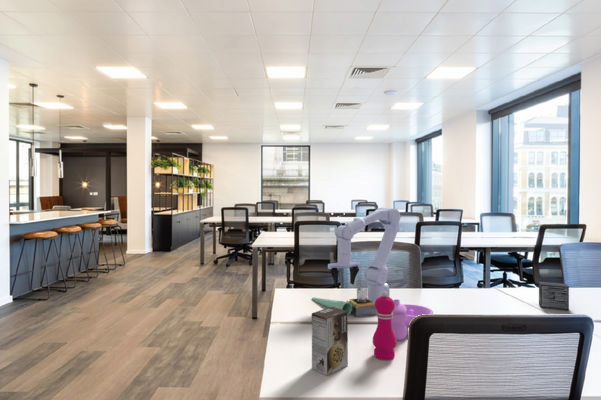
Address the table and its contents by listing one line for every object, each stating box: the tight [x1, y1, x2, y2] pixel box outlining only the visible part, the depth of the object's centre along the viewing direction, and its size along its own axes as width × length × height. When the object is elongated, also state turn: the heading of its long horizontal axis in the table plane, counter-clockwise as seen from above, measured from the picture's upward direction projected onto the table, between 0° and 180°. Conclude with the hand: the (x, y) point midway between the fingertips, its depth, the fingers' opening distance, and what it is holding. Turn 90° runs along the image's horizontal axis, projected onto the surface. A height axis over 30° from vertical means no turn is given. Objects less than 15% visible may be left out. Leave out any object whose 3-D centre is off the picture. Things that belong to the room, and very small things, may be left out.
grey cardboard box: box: [311, 307, 349, 376], centre depth 110 cm, size 9×6×16 cm
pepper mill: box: [372, 291, 397, 361], centre depth 118 cm, size 7×7×20 cm
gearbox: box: [346, 298, 377, 318], centre depth 161 cm, size 12×10×5 cm
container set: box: [391, 298, 434, 341], centre depth 140 cm, size 25×15×13 cm, turn 142°
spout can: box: [356, 285, 368, 304], centre depth 161 cm, size 4×4×8 cm
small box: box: [538, 281, 570, 311], centre depth 168 cm, size 11×6×10 cm, turn 65°
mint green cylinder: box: [311, 297, 352, 316], centre depth 169 cm, size 5×6×27 cm
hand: (344, 284), depth 166 cm, fingers open, 7 cm apart
